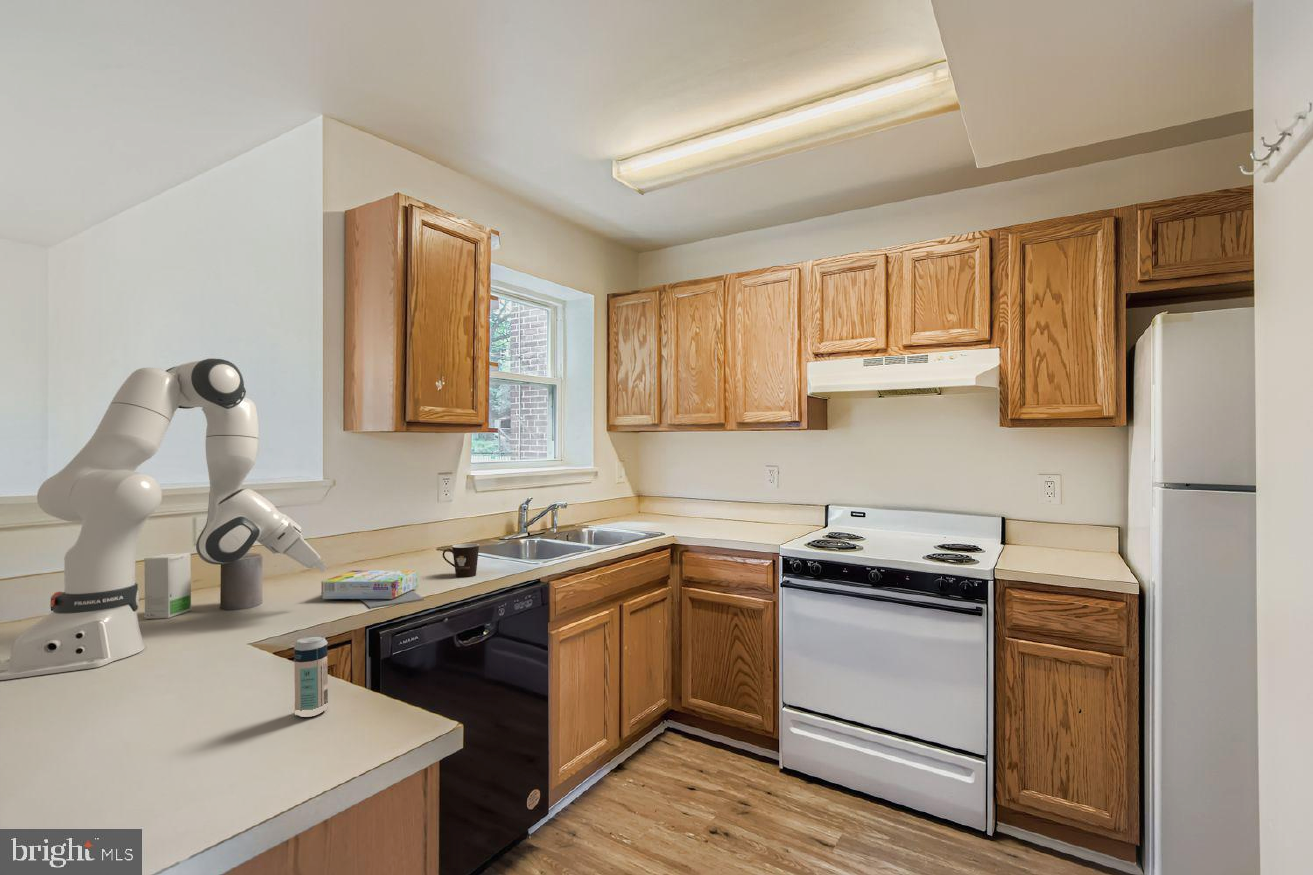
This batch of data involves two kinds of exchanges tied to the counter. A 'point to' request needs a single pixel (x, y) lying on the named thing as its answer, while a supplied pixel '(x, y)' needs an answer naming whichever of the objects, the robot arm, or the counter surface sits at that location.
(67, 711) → the counter surface
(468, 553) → the coffee mug
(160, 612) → the skincare box
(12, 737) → the counter surface
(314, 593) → the counter surface
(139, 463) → the robot arm
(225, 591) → the pillar candle
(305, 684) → the supplement bottle
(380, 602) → the mat
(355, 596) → the snack box
